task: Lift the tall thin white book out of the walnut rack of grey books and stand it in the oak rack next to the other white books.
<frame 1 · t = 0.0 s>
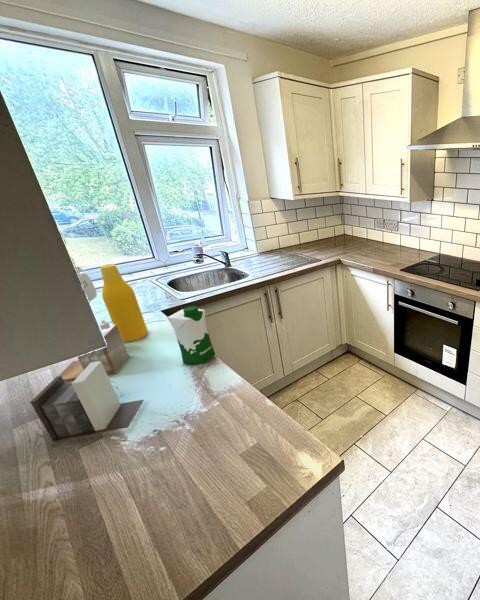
hand: (77, 329, 81), 26 cm above the countertop, tool pointing down, fingers open, 8 cm apart
milk carton: (199, 359, 114), on the countertop
white book rack: (94, 368, 109), on the countertop
eye dropper bottle: (114, 349, 120), on the countertop
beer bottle: (134, 336, 128), on the countertop
grey book rack: (102, 421, 88), on the countertop
white book: (108, 417, 88), point 1 cm above the countertop, touching grey book rack
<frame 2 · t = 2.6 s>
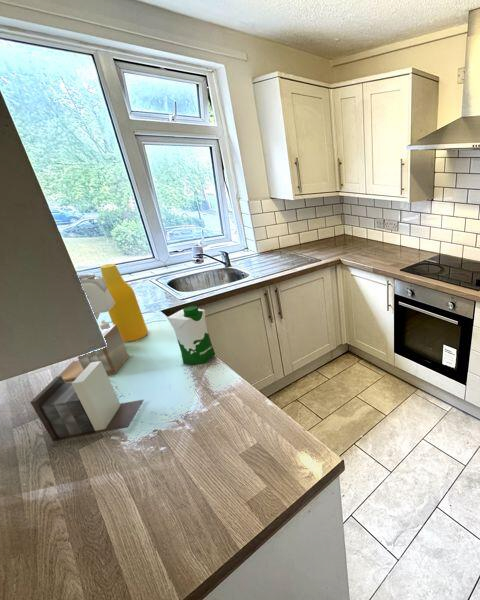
hand: (69, 332, 77), 27 cm above the countertop, tool pointing down, fingers open, 8 cm apart
nothing on the countertop moved.
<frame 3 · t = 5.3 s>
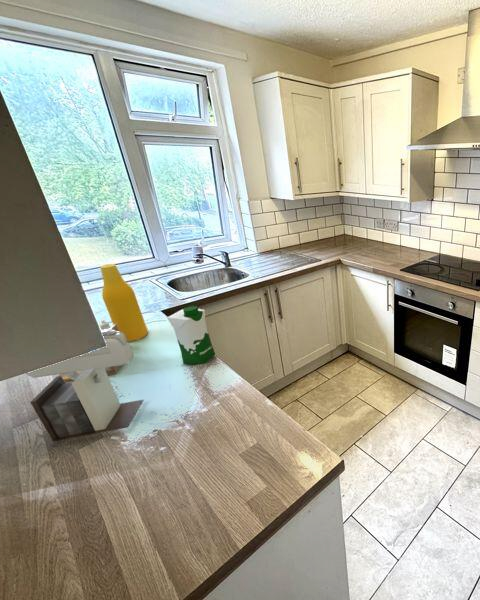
hand: (92, 382, 83), 13 cm above the countertop, tool pointing down, fingers closed on white book, 2 cm apart
white book: (108, 417, 88), point 1 cm above the countertop, touching grey book rack, gripper
everything else where it was.
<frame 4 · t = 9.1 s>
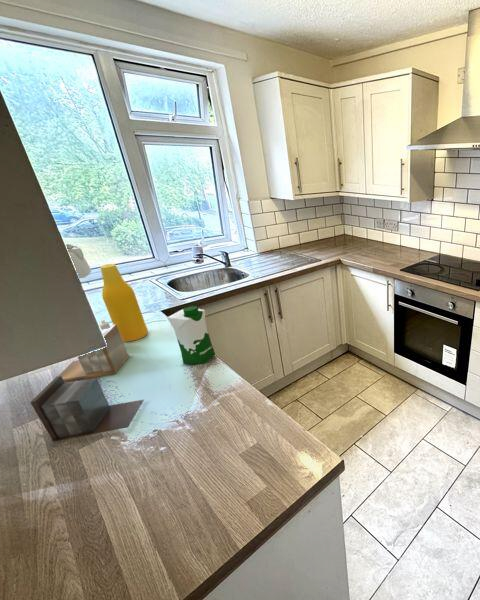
hand: (52, 295, 90), 30 cm above the countertop, tool pointing down, fingers closed on white book, 2 cm apart
white book: (68, 331, 95), point 18 cm above the countertop, touching gripper
everything else where it was.
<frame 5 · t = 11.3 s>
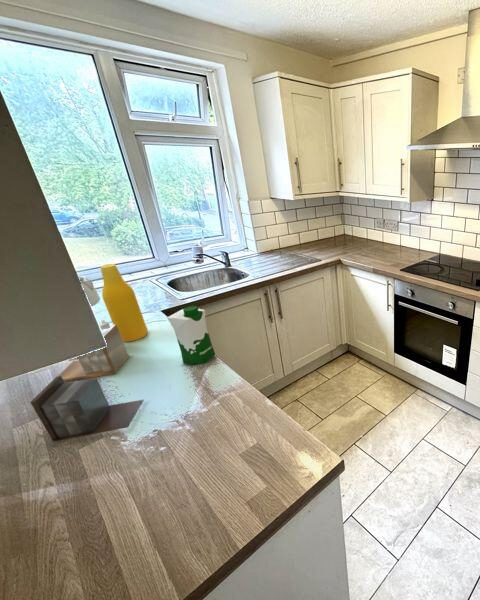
hand: (65, 321, 101), 18 cm above the countertop, tool pointing down, fingers closed on white book, 2 cm apart
white book: (81, 352, 106), point 7 cm above the countertop, touching gripper
everything else where it was.
when the fingers open (12 cm above the countertop, at t = 12.8 s): white book stays where it is, resting on white book rack.
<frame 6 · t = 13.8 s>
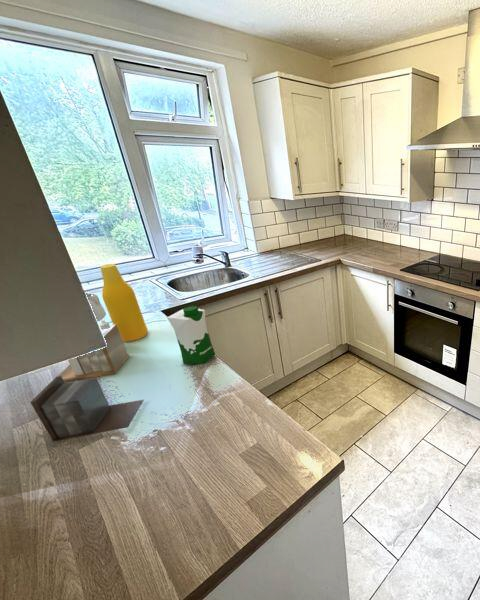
hand: (72, 335, 103), 13 cm above the countertop, tool pointing down, fingers open, 8 cm apart
white book: (87, 367, 108), point 1 cm above the countertop, touching white book rack
everything else where it was.
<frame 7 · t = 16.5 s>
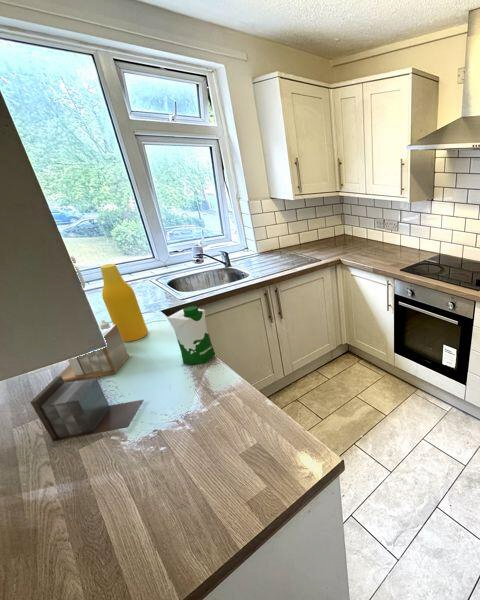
hand: (57, 303, 98), 24 cm above the countertop, tool pointing down, fingers open, 8 cm apart
nothing on the countertop moved.
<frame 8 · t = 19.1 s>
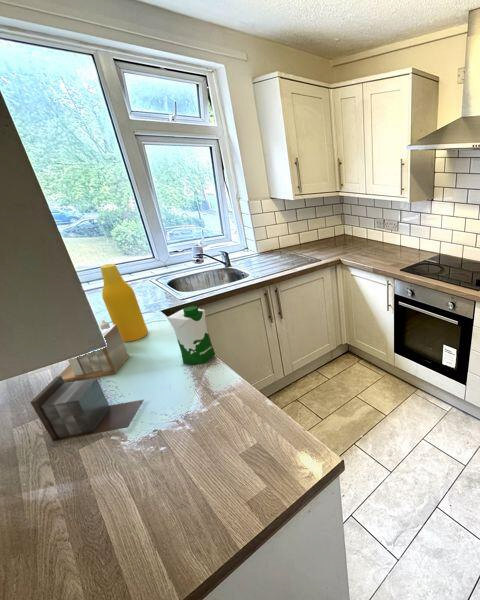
nothing on the countertop moved.
at the end: white book 0.2 cm from the target spot on the white book rack, point 1.0 cm above the white book rack's base; white book tilted 0°; the gripper is holding nothing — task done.
